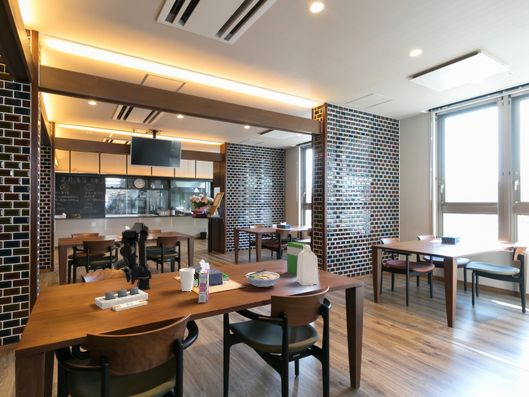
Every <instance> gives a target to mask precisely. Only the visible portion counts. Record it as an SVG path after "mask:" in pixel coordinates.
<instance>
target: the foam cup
mask: <svg viewBox="0 0 529 397" xmlns="http://www.w3.org/2000/svg"><path fill="white" fill-rule="evenodd" d="M195 271H196V269H195V268H193V267H185V268H184V267H183V268H181V269H179V277H180V278H179V279H180V289H181V291H182V292H183V291H190V292H192V291H193V288H194V287H193V281H194V274H195ZM191 290H192V291H191Z"/></svg>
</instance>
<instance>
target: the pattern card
mask: <svg viewBox="0 0 529 397" xmlns="http://www.w3.org/2000/svg"><path fill="white" fill-rule="evenodd" d="M146 300H147V299H146ZM146 300H143V299H142V300H137V301H133V302H128V303H124V304H119V305H115V306H112V307H111V308H112V310H113V311H115V312H119V311H125V310H128V309H131V308H137V307H140V306H145V305H148V300H147V301H146Z"/></svg>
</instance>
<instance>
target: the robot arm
mask: <svg viewBox="0 0 529 397" xmlns="http://www.w3.org/2000/svg"><path fill="white" fill-rule="evenodd" d="M149 237H150V229H149V227H148V226H147V225H145V223H144V222H134V224H133V226H131V228H128V229H125V230H124V231H123V233H122V236H121V241H120V245H123V246H121V247H120V249H119V254H120V256H122V258H121V259H120V260H119V259H118V260H117V261H115V262H113V263H112V266H113V269H114V270H116V271H119V270H121V271H122V272H123V274H124V276H125V279H126V283H130V285H134V284H135V283H136V287H138V290H141V291H144V290H145V291H146V290H149V289H151V287H150V280H151V279H152V278H153V276H152V271H151V269H150V265H149V264H148V263H147V240H148V238H149ZM137 252H138V254H137ZM137 259H138V261H137ZM136 281H137V282H136Z"/></svg>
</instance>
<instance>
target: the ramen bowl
mask: <svg viewBox="0 0 529 397" xmlns="http://www.w3.org/2000/svg"><path fill="white" fill-rule="evenodd" d="M280 276H281V275H280V274H279V273H278V272H277V273H276V272H273V271H268V269H265V268H264V269H262V270H258V271H252V272H248V273H246V274H245V275H243V278H246V280H247V281H248V282H249V283H250V284H251V285H252V286H255V287H257V288H259V287H266V288H268V287H271V286H273V285H275V284H276V283H277V282H278V280H279V279H280Z"/></svg>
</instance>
